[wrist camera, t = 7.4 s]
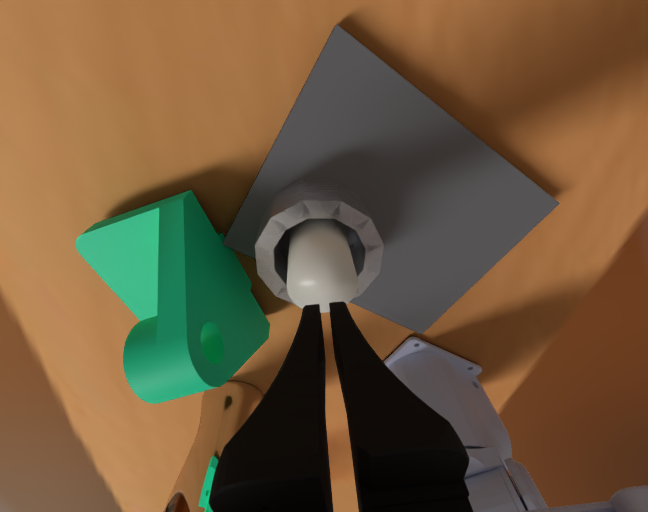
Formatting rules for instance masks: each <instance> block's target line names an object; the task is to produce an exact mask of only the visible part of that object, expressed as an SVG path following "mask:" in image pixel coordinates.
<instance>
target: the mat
mask: <svg viewBox="0 0 648 512" xmlns="http://www.w3.org/2000/svg"><path fill="white" fill-rule="evenodd" d="M303 178H305V179H335V180H337V181H339V182H340V183H342V184H344V185H345V186H347V187H349V188H350V189H352V190H353V191H355V192H357V193H358V194H360V196H361V198H362V200H363V202H364V204H365V206H366V208H367V210H368V212H369V214H370V216H371V218H372V220H373V222H374V224H375V227H376V229H377V231H378V233H379V235H380V238H381V240H382V242H383V244H384V248H383V255H382V261H381V267H380V273H379V274H378V275H377V277H376V278H375V279H374V280H373V281H372V283H371V284H370V285H369V286H368V287H367V288H366V290H365V291H364V292H363V293H362V294H361V295H360V296H358V297H355V298H353V299H352V300H351V301H350V302H351V303H353V304H355V305H358V306H360V307H362V308H364V309H366V310H369V311H371V312H373V313H375V314H377V315H380V316H382V317H384V318H386V319H388V320H391V321H393V322H395V323H397V324H399V325H402V326H404V327H406V328H408V329H410V330H413V331H415V332H417V333H419V334H422V333H424V332H425V331H426V330H427V329H428V328H429V327H430V326H431V325H432V324H433V323H434V322H435V321H436V320H437V319H438V318H439V317H440V316H441V315H443V314H444V313H445V312H446V311H447V310H448V309H449V308H450V307H451V306H452V305H453V304H454V303H455V302H456V301H457V300H458V299H459V298H460V297H461V296H463V295H464V294H465V293H466V292H467V291H468V290H469V289H470V288H471V287H472V286H473V285H474V284H475V283H476V282H477V281H478V280H479V279H480V278H482V277H483V276H484V275H485V274H486V273H487V272H488V271H489V270H490V269H491V268H492V267H493V266H494V265H495V264H496V263H497V262H498V261H499V260H501V259H502V258H503V257H504V256H505V255H506V254H507V253H508V252H509V251H510V250H511V249H512V248H513V247H514V246H515V245H516V244H517V243H518V242H520V241H521V240H522V239H523V238H524V237H525V236H526V235H527V234H528V233H529V232H530V231H531V230H532V229H533V228H534V227H535V226H536V225H537V224H538V223H540V222H541V221H542V220H543V219H544V218H545V217H546V216H547V215H548V214H549V213H550V212H551V211H552V210H553V209H554V208H555V207H556V206H557V205H559V204H560V203H559V202H558V201H556V200H555V199H554V198H553V197H551V196H550V195H549V194H548V193H546V192H545V191H544V190H543V189H541V188H540V187H539V186H538V185H536V184H535V183H534V182H533V181H531V180H530V179H529V178H528V177H526V176H525V175H524V174H523V173H521V172H520V171H519V170H518V169H516V168H515V167H514V166H513V165H511V164H510V163H509V162H508V161H506V160H505V159H504V158H503V157H502V156H500V155H499V154H498V153H497V152H495V151H494V150H493V149H492V148H490V147H489V146H488V145H487V144H485V143H484V142H483V141H482V140H480V139H479V138H478V137H477V136H475V135H474V134H473V133H472V132H470V131H469V130H468V129H467V128H465V127H464V126H463V125H462V124H460V123H459V122H458V121H457V120H455V119H454V118H453V117H452V116H450V115H449V114H448V113H447V112H445V111H444V110H443V109H442V108H440V107H439V106H438V105H437V104H436V103H434V102H433V101H432V100H431V99H429V98H428V97H427V96H426V95H424V94H423V93H422V92H421V91H419V90H418V89H417V88H416V87H414V86H413V85H412V84H411V83H409V82H408V81H407V80H406V79H404V78H403V77H402V76H401V75H399V74H398V73H397V72H396V71H394V70H393V69H392V68H391V67H389V66H388V65H387V64H386V63H384V62H383V61H382V60H381V59H379V58H378V57H377V56H376V55H374V54H373V53H372V52H371V51H370V50H368V49H367V48H366V47H365V46H363V45H362V44H361V43H360V42H358V41H357V40H356V39H355V38H353V37H352V36H351V35H350V34H348V33H347V32H346V31H345V30H343V29H342V28H341V27H340V26H338V25H337V24H336V25H335V27H334V29H333V31H332V32H331V34H330V36H329V38H328V40H327V42H326V44H325V46H324V48H323V50H322V52H321V54H320V56H319V58H318V59H317V61H316V63H315V65H314V67H313V69H312V71H311V73H310V75H309V77H308V79H307V81H306V83H305V84H304V86H303V88H302V90H301V92H300V94H299V96H298V98H297V100H296V102H295V104H294V106H293V108H292V109H291V111H290V113H289V115H288V117H287V119H286V121H285V123H284V125H283V127H282V129H281V131H280V133H279V134H278V136H277V138H276V140H275V142H274V144H273V146H272V148H271V150H270V152H269V154H268V156H267V158H266V159H265V161H264V163H263V165H262V167H261V169H260V171H259V173H258V175H257V177H256V179H255V181H254V183H253V185H252V186H251V188H250V190H249V192H248V194H247V196H246V198H245V200H244V202H243V204H242V206H241V208H240V210H239V211H238V213H237V215H236V217H235V219H234V221H233V223H232V225H231V227H230V229H229V231H228V233H227V235H226V236H225V239H224V241H223V243H222V244H223V245H225V246H227V247H230V248H232V249H234V250H236V251H239V252H241V253H243V254H245V255H247V256H250V257H252V258H254V259H256V253H255V243H256V239H257V235H258V230H259V226H260V222H261V218H262V216H263V214H264V213H265V211H266V209H267V207H268V206H269V204H270V202H271V200H272V199H273V197H274V195H275V194H276V193H277V192H279V191H281V190H282V189H284V188H286V187H288V186H290V185H292V184H293V183H295V182H297V181H299V180H301V179H303ZM343 225H344V228H345V232H346V236H347V240H348V244H349V247H350V246H351V245H352V243H353V242H354V241H355V232H356V230H354V229H353V228H351V227H349V226H347V225H345V224H343ZM289 237H290V228H289V229H287V230H285V232H284V233H283V235H282V237H281V238H280V240H279V242H280V244H281V245H282V247H283V248H284V249H285V251H286V252H287V254H288V253H289Z"/></svg>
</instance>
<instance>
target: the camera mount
mask: <svg viewBox="0 0 648 512" xmlns="http://www.w3.org/2000/svg"><path fill="white" fill-rule="evenodd" d="M224 239H225V235H224V234H223V233H220V234H217V233H216V231H215V229H214V228H213V226H212V224H211V223H210V221H209V219H208V217H207V216H206V214H205V212H204V211H203V209H202V207H201V205H200V204H199V202H198V200H197V199H196V197H195V195H194V193H193V192H192V190H189V191H186V192H183V193H180V194H177V195H175V196H172V197H169V198H166V199H163V200H160V201H158V202H155V203H152V204H149V205H146V206H143V207H140V208H138V209H135V210H132V211H129V212H126V213H123V214H120V215H118V216H115V217H112V218H109V219H106V220H103V221H101V222H98V223H95V224H94V225H93V226H91V227H90V228H89V229H88V230H86V231H85V232H84V233H83V234H81V235H80V236H79V237H78V238H77V240H76V248H77V250H78V252H79V253H80V255H81V256H82V257H83V258H84V259H85V260H86V261H87V262H88V263H89V265H90V266H91V267H92V268H93V269H94V270H95V271H96V272H97V273H98V274H99V276H100V277H101V278H102V279H103V280H104V281H105V282H106V283H107V284H108V286H109V287H110V288H111V289H112V290H113V291H114V292H115V293H116V294H117V296H118V297H119V298H120V299H121V300H122V301H123V302H124V303H125V304H126V306H127V307H128V308H129V309H130V310H131V311H132V312H133V313H134V314H135V315H136V317H137V318H138V319H139V320H140V322H139V323H137V324H136V325H135V326H134V327H133V328H132V330H131V331H130V333H129V335H128V337H127V339H126V342H125V346H124V353H123V364H124V371H125V375H126V378H127V381H128V383H129V385H130V387H131V388H132V390H133V391H134V393H135V394H136V395H137V396H138V397H139V398H141V399H142V400H144V401H145V402H148V403H153V404H156V403H161V402H165V401H169V400H173V399H176V398H180V397H184V396H187V395H191V394H195V393H198V392H202V391H206V390H209V389H213V388H217V387H220V386H222V385H224V384H225V383H226V382H227V381H228V380H229V379H230V378H231V377H232V376H233V375H234V374H235V373H236V371H237V370H238V369H239V368H240V367H241V366H242V365H243V364H244V363H245V362H246V361H247V360H248V359H249V358H250V357H251V356H252V355H253V354H254V353H255V352H256V351H257V350H258V349H259V348H260V346H261V345H262V344H263V343H264V342H265V341H266V340H267V339H268V337H269V328H270V323H269V322H268V320H267V318H266V316H265V315H264V313H263V311H262V310H261V308H260V306H259V304H258V303H257V301H256V299H255V298H254V296H253V294H252V293H251V291H250V290H251V285H252V283H251V281H250V279H249V277H248V276H247V274H246V272H245V270H244V269H243V267H242V265H241V263H240V262H239V260H238V258H237V256H236V255H235V253H234V251H233V249H232V248H230V247H227V246H225V245H223V244H222V243H223V241H224Z"/></svg>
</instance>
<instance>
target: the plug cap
mask: <svg viewBox="0 0 648 512" xmlns="http://www.w3.org/2000/svg"><path fill="white" fill-rule="evenodd" d="M357 288H358V278H357V274H356V270H355V267H354V263H353V259H352V255H351V251H350V248H349V244H348V240H347V236H346V232H345V228H344V225H343V223H342V222H340V221H338V220H336V219H326V218H308V219H306V220H304V221H302V222H300V223H298V224H296V225H294V226H293V227H291V228H290V237H289V253H288V270H287V292H288V295H289V297H290V298H291V300H292V301H293V302H294V303H295V304H296V305H297V306H299V307H300V308H302V309H303V307H304V306H305V305H313V304H319V305H320V313H325V312H330V308H329V303H332V302H341V301H343V302H345V303H346V304H347V303H349V302H350V301H351V300H352V298H353V297H354V295H355V293H356V291H357Z"/></svg>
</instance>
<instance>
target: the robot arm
mask: <svg viewBox="0 0 648 512" xmlns="http://www.w3.org/2000/svg"><path fill="white" fill-rule="evenodd" d="M329 308H330V318H331V328H332V337H333V346H334V355H335V361H336V366H337V370H338V375H339V379H340V384H341V389H342V393H343V398H344V403H345V408H346V413H347V420H348V428H349V436H350V443H351V451H352V459H353V467H354V475H355V483H356V491H357V500H358V508H359V512H648V485H645V486H636V487H629V488H624V489H622V490H619V491H617V492H616V493H615V494H614V495H613V496H612V497H611V499H610V501H605V502H596V503H587V504H579V505H570V506H563V507H553V508H548V507H547V505H546V503H545V502H544V500H543V498H542V496H541V494H540V492H539V491H538V489H537V487H536V486H535V484H534V482H533V480H532V478H531V477H530V475H529V473H528V471H527V470H526V468H525V467H524V465H522V464H521V463H518V462H517V461H514V460H513V458H512V449H511V448H512V447H511V442H510V438H509V435H508V433H507V431H506V429H505V427H504V425H503V423H502V421H501V420H500V418H499V416H498V414H497V412H496V411H495V409H494V407H493V405H492V404H491V402H490V400H489V398H488V396H487V395H486V393H485V391H484V389H483V387H482V386H481V384H480V382H479V380H478V379H477V377H476V376H477V375H478V374H480V373H481V372H482V368H481V366H479V365H477V364H475V363H472V362H470V361H468V360H466V359H463V358H461V357H459V356H457V355H454V354H452V353H450V352H448V351H445V350H443V349H441V348H439V347H437V346H434V345H432V344H430V343H428V342H425V341H423V340H421V339H419V338H416V337H409V338H408V339H407V340H406V341H405V342H404V343H403V344H402V345H401V346H400V347H399V348H398V349H397V350H395V351H394V352H393V353H392V354H391V355H390V356H389V357H388V358H387V359H386V360H385V361H384V362H383V361H382V360H381V359H380V358H379V357H378V355H377V354H376V353H375V351H374V350H373V349H372V348H371V346H370V345H369V344H368V342H367V341H366V339H365V338H364V336H363V335H362V333H361V332H360V330H359V329H358V327H357V325H356V324H355V322H354V320H353V318H352V317H351V315H350V313H349V310H348V308H347V306H346V303H345V302H343V301H341V302H332V303H329ZM508 470H509V472H510V473H511V477H510V475H509V473H508ZM511 478H512V479H513V481H514V483H513V481H512V479H511ZM514 484H515V485H514ZM515 486H516V487H515ZM516 488H517V489H516ZM517 490H518V491H517ZM518 492H519V493H518ZM519 494H520V495H519ZM209 505H210V508H211V509H212V510H213V512H333V503H332V491H331V479H330V467H329V455H328V443H327V431H326V418H325V348H324V338H323V330H322V321H321V313H320V305H319V304H313V305H305V306H304V307H303V312H302V316H301V320H300V324H299V327H298V330H297V332H296V335H295V338H294V340H293V343H292V345H291V348H290V350H289V352H288V354H287V356H286V359H285V361H284V363H283V365H282V367H281V369H280V370H279V372H278V374H277V376H276V378H275V379H274V381H273V383H272V384H271V386H270V388H269V389H268V391H267V392H266V394H265V395H264V397H263V398H262V400H261V401H260V403H259V404H258V405H257V407H256V408H255V409H254V411H253V412H252V414H251V415H250V416H249V418H248V419H247V420H246V422H245V423H244V424H243V425H242V426H241V428H240V429H239V430H238V431H237V432H236V433H235V435H234V436H233V437H232V438H231V439H230V440H229V442H228V443H227V444H226V445H225V446H224V448H223V451H222V453H221V456H220V458H219V461H218V464H217V467H216V470H215V473H214V477H213V482H212V487H211V492H210V497H209Z"/></svg>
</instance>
